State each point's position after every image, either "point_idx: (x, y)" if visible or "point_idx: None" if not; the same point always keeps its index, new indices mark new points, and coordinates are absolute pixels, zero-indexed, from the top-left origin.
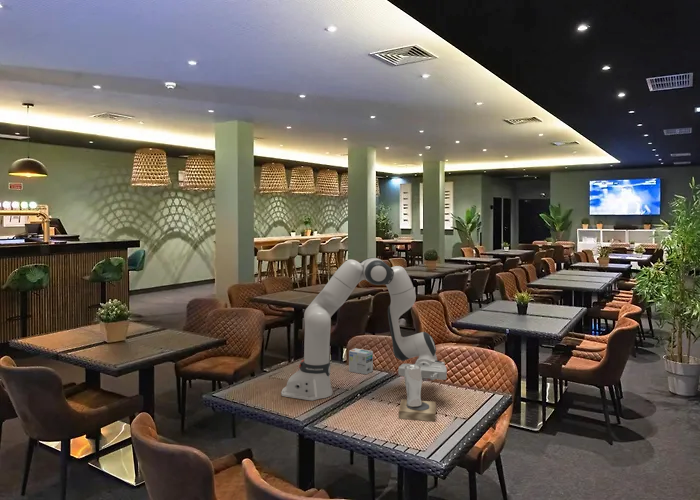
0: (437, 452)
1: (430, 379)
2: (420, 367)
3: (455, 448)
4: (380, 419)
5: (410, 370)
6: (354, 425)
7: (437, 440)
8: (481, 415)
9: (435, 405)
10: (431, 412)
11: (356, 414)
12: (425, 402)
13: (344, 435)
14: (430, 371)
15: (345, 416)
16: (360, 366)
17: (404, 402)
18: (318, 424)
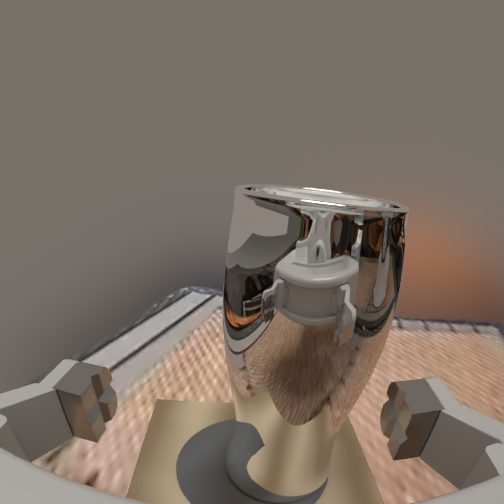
0: (190, 306)
1: (113, 400)
2: (240, 186)
3: (145, 316)
4: None
5: (320, 199)
6: (433, 350)
7: (181, 334)
8: None
9: (130, 487)
10: (174, 409)
11: (487, 396)
12: None
13: (413, 319)
14: (29, 464)
15: (495, 375)
16: None
17: (354, 496)
18: (495, 332)
